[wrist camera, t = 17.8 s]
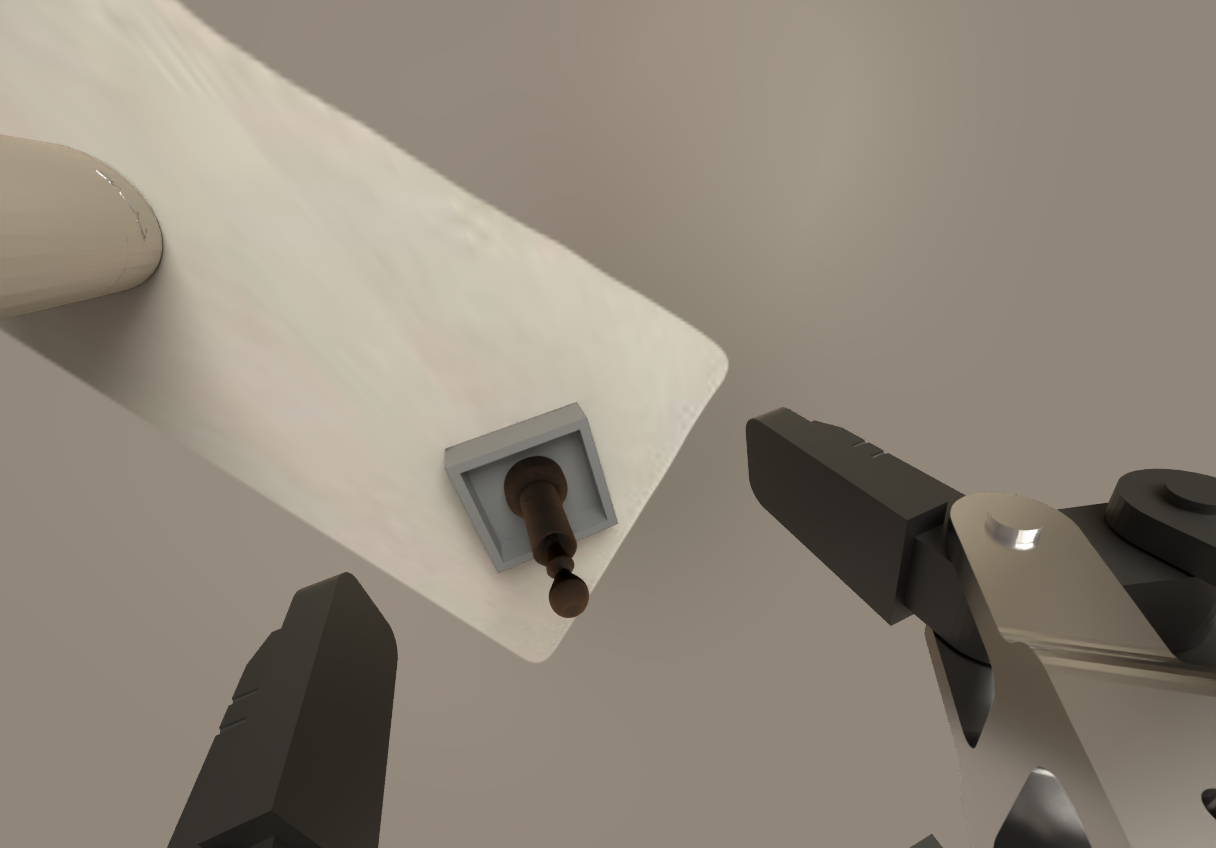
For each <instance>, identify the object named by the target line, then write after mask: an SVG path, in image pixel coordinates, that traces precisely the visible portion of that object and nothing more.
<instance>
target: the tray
mask: <svg viewBox="0 0 1216 848" xmlns="http://www.w3.org/2000/svg"><path fill="white" fill-rule="evenodd" d="M532 456H544V457H548V458H550V459H552V460H554V461H555V462H556V463H557V464H558V465H559V466H560V467H561V469H562V471H563V473H564V476H565V478H566V481H567V486H568V491H567V496H566V499H565V501H564V502H563V504H562V506H563V509H564V511H565V514H566V516H567V519H568V521H569V524H570V527H571V529H572V532H573V534H574V537H575V539H576V541H577V540H579V539H582V538H584V537H587V536H589V535H592V534H594V533H597V532H599V531H601V530H604V529H606V528H609V527H611V526H614V525H616V524H618V522H617V518H616V515H615V511H614V508H613V505H612V501H611V498H610V494H609V491H608V488H607V484H606V481H605V477H604V474H603V470H602V467H601V464H600V460H599V457H598V453H597V450H596V447H595V443H594V440H593V436H592V433H591V430H590V426H589V423H588V419H587V417H586V415H585V414H584V412H583V411H582V409H581V408H580V406H579V405H578V403H577V402H576V403H573V404H570V405H567V406H565V407H562V408H559V409H556V410H553V411H551V412H548V413H545V414H542V415H539V416H537V417H534V418H531V419H528V420H525V421H523V422H520V423H517V424H514V425H511V426H508V427H506V428H503V429H500V430H497V431H494V432H492V433H489V434H486V435H483V436H480V437H478V438H475V439H472V440H469V441H466V442H464V443H461V444H458V445H455V446H452V447H450V448H447V449H445V470H446V472H447V474H448V476H449V478H450V480H451V482H452V484H453V486H454V488H455V490H456V492H457V494H458V496H459V498H460V500H461V502H462V504H463V506H464V508H465V510H466V512H467V514H468V516H469V518H470V519H471V521H472V523H473V525H474V527H475V529H476V531H477V533H478V535H479V537H480V539H481V541H482V543H483V545H484V547H485V549H486V551H487V553H488V555H489V557H490V559H491V561H492V563H493V565H494V567H495V569H496V571H497V573H499V572H502V571H504V570H506V569H509V568H511V567H514V566H516V565H519V564H521V563H523V562H526V561H528V560H531V559H533V558H534V557H533V553H532V549H531V545H530V541H529V536H528V532H527V528H526V525H525V521H524V518H521V517H519V516H517V515H516V514H514V513H513V512H512V511H511V510H510V508H509V506H508V504H507V501H506V497H505V493H504V480H505V477H506V475H507V473H508V471H509V470H510V469H511V467H512V466H513V465H515V464H516V463H517V462H519V461H521V460H522V459H525V458H528V457H532Z"/></svg>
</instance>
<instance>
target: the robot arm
mask: <svg viewBox="0 0 1216 848" xmlns="http://www.w3.org/2000/svg"><path fill="white" fill-rule="evenodd" d="M161 253H162V236H161V232H160V229H159V226H158V222H157V219H156V218H155V216H154V214H153V212H152V210H151V209H150V207H149V205H148V203H147V202H146V201H145V200H144V198H143V197H142V196H141V195H140V193H139V192H138V191H137V190H136V189H135V188H134V187H133V186H132V185H131V184H130V183H129V182H128V181H127V180H126V179H125V178H123V177H122V176H121V175H120V174H118V173H117V172H116V171H114V170H113V169H111V168H110V167H108V166H107V165H105V164H104V163H102V162H100V161H98V160H97V159H95V158H93V157H91V156H89V155H87V154H85V153H83V152H80V151H77V150H74V149H71V148H68V147H65V146H62V145H56V144H51V143H45V142H40V141H34V140H29V139H23V138H18V137H12V136H7V135H2V134H0V320H2V319H7V318H11V317H15V316H19V315H23V314H28V313H32V312H36V311H40V310H44V309H49V308H53V307H57V306H61V305H65V304H70V303H74V302H78V301H83V300H88V299H92V298H96V297H100V296H104V295H108V294H112V293H116V292H120V291H124V290H128V289H131V288H133V287H135V286H137V285H139V284H141V283H143V282H144V281H145V280H146V279H148V278H149V277H150V276H151V275H152V274H153V273H154V271H155V269H156V267H157V266H158V264H159V262H160V258H161ZM746 441H747V455H748V468H749V481H750V485H751V488H752V490H753V493H754V494H755V496H756V498H757V500H758V501H759V502H760V504H761V505H762V506H763V507H764V508H765V509H766V510H767V511H768V512H769V513H770V514H771V515H772V516H774V517H775V518H776V519H777V520H778V521H779V522H780V523H781V524H782V525H783V526H784V527H785V528H786V529H788V530H789V531H790V532H791V533H792V534H793V535H794V536H795V537H796V538H797V539H798V540H799V541H800V542H801V543H803V544H804V545H805V546H806V547H807V548H808V549H809V550H810V551H811V552H812V553H813V554H814V555H815V556H816V557H818V558H819V559H820V560H821V561H822V562H823V563H824V564H825V565H826V566H827V567H828V568H829V569H830V570H832V571H833V572H834V573H835V574H836V575H837V576H838V577H839V578H840V579H841V580H842V581H843V582H845V584H846V585H848V586H849V587H850V588H851V589H852V590H853V591H854V592H855V593H856V594H857V595H858V596H859V597H860V598H862V599H863V600H864V601H865V602H866V603H867V604H868V605H869V606H870V607H871V608H872V609H873V610H874V611H875V612H877V613H878V614H879V615H880V616H881V617H882V618H883V619H884V620H885V621H886V622H887V623H888V624H889V625H893V624H895V623H897V622H899V621H901V620H903V619H905V618H907V617H909V616H911V615H913V614H915V615H916V616H917V617H918V618H920V619H921V620H922V621H923V622H924V623H925V624H926V626H925V638H926V642H927V646H928V649H929V653H930V657H931V660H932V664H933V668H934V671H935V675H936V679H937V682H938V686H939V689H940V693H941V696H942V700H943V704H944V707H945V711H946V714H947V718H948V722H949V725H950V729H951V732H952V736H953V739H954V743H955V747H956V750H957V755H958V759H959V765H960V776H961V803H962V811H963V817H964V823H965V828H966V832H967V837H968V841H969V844H970V848H1216V478H1215V477H1212V476H1208V475H1203V474H1199V473H1194V472H1188V471H1181V470H1172V469H1171V470H1170V469H1144V470H1137V471H1133V472H1130V473H1127V474H1125V475H1124V476H1122V477H1121V478H1120V479H1119V480H1118V483H1117V485H1116V487H1115V489H1114V492H1113V494H1112V496H1111V498H1110V501H1109V503H1103V504H1095V505H1088V506H1080V507H1073V508H1065V509H1058V510H1056V509H1054V508H1053V507H1050V506H1049V505H1046V504H1044V503H1042V502H1039V501H1036V500H1033V499H1030V498H1027V497H1023V496H1019V495H1014V494H1009V493H999V492H982V493H975V494H970V495H967V496H966V495H964V494H962V493H960V492H958V491H956V490H955V489H953V488H951V487H949V486H947V485H945V484H944V483H942V482H940V481H938V480H936V479H935V478H933V477H931V476H929V475H927V474H925V473H924V472H922V471H920V470H918V469H916V468H915V467H912V466H911V465H909V464H907V463H905V462H903V461H902V460H900V459H898V458H896V457H894V456H893V455H891V454H889V453H887V454H885V453H884V452H883V450H881V449H880V448H878V447H876V446H874V445H873V444H871V443H865V441H864V440H863V439H862V438H860V437H858V436H856V435H854V434H853V433H851V432H849V431H847V430H845V429H843V428H841V427H837V426H834V425H830V424H826V423H822V422H818V421H812V422H810V421H808V420H806V419H805V418H803V417H802V416H800V415H798V414H797V413H795V412H793V411H791V410H790V409H787V408H784V407H783V408H779V409H776V410H773V411H771V412H768V413H765V414H763V415H760V416H758V417H755V418H752V419H750V420H749V421H748V422H747V425H746ZM397 660H398V655H397V645H396V640H395V637H394V634H393V631H392V629H391V627H390V625H389V624H388V622H387V621H386V620H385V618H384V617H383V615H382V614H381V612H380V611H379V610H378V608H377V607H376V605H375V604H374V603H373V602H372V600H371V598H370V597H369V596H368V594H367V593H366V591H365V590H364V589H363V587H362V586H361V584H360V583H359V582H358V580H357V579H356V578H355V577H354V576H353V575H352V574H350V573H348V572H345V573H342V574H339V575H337V576H334V577H331V578H329V579H326V580H324V581H321V582H318V583H315V584H313V585H310V586H308V587H305V588H302V589H300V590H298V591H297V592H296V594H295V595H294V597H293V600H292V602H291V605H290V607H289V610H288V612H287V615H286V617H285V620H284V623H283V625H282V628H281V629H279V630H276V631H274V632H272V633H271V634H270V635H269V637H268V638H267V639H266V641H265V642H264V643H263V645H262V646H261V647H260V648H259V650H258V651H257V652H256V653H255V655H254V656H253V658H252V659H251V660H250V661H249V663H248V664H247V665H246V668H245V670H244V672H243V674H242V677H241V679H240V681H239V684H238V686H237V688H236V690H235V693H234V695H233V697H232V700H233V704H232V705H230V706H228V709H227V711H226V713H225V716H224V718H223V720H222V723H221V725H220V727H219V728H220V734H219V735H217V736H216V737H215V739H214V741H213V743H212V746H211V748H210V750H209V753H208V755H207V757H206V759H205V762H204V764H203V766H202V769H201V771H200V773H199V775H198V778H197V780H196V782H195V785H194V787H193V789H192V792H191V794H190V796H189V798H188V801H187V803H186V805H185V808H184V810H183V812H182V815H181V817H180V819H179V821H178V824H177V826H176V828H175V831H174V833H173V835H172V838H171V840H170V842H169V845H168V847H167V848H378V843H379V833H380V823H381V814H382V805H383V795H384V785H385V776H386V766H387V757H388V747H389V737H390V728H391V718H392V709H393V699H394V689H395V679H396V670H397ZM910 848H943V847H942V846H941V845H940V844H939V842H938V841H937V840H936V838H935V837H934V836H933V835H932V834H931V835H929V836H928V837H926V838H925V839H923V840H921V841H920V842H918V843H917V844H915V845H913V846H912V847H910Z"/></svg>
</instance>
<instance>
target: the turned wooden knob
mask: <svg viewBox="0 0 1216 848" xmlns="http://www.w3.org/2000/svg"><path fill="white" fill-rule="evenodd" d="M567 491H568V486H567V481H566V478H565V476H564V473H563V471H562V469H561V467H560V466H559V465H558V464H557V463H556V462H555V461H554V460H552V459H550V458H548V457H544V456H532V457H528V458H525V459H522V460H521V461H519V462H517V463H516V464H515V465H513V466H512V467H511V469H510V470H509V471H508V473H507V475H506V477H505V480H504V493H505V497H506V501H507V504H508V506H509V508H510V510H511V511H512V512H513V513H514V514H516V515H517V516H519V517H521V518H524V521H525V525H526V528H527V532H528V536H529V541H530V545H531V549H532V553H533V557H534V559H535V560H536V561H537V562H538V563H539V564H541V565H544V566H546V568H547V574H548V575H549V576H550V577H551V578H554V582H553V584H552V586H551V589H550V592H549V602H550V605H551V607H552V609H553V610H554V612H555V613H557V614H558V615H559V616H561V617H565V618H572V617H576V616H578V615H579V614H581V613H582V612H583V611H584V610H585V608H586V606H587V604H588V600H589V591H588V588H587V585H586V584H585V582H584V581H583V580H582V579H581V578H579V577H578V576H576V575H574V574H572V573H571V572H572V571H573V568H574V562H573V560H572V557H573V555H574V554H575V552H576V548H577V542H576V539H575V537H574V534H573V532H572V529H571V527H570V524H569V521H568V519H567V516H566V514H565V511H564V509H563V506H562V504H563V502H564V501H565V499H566V496H567Z"/></svg>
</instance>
